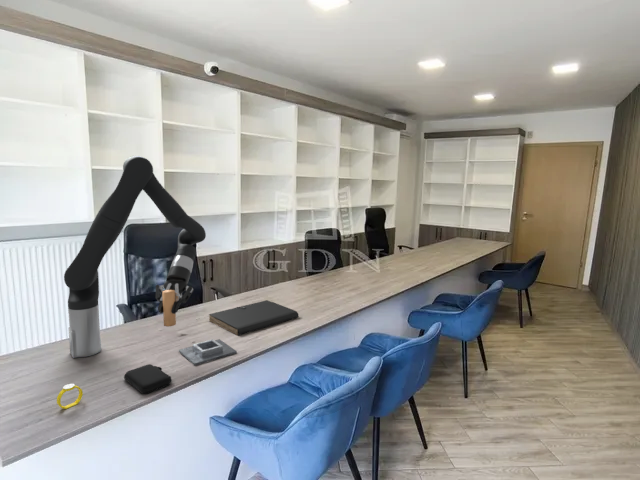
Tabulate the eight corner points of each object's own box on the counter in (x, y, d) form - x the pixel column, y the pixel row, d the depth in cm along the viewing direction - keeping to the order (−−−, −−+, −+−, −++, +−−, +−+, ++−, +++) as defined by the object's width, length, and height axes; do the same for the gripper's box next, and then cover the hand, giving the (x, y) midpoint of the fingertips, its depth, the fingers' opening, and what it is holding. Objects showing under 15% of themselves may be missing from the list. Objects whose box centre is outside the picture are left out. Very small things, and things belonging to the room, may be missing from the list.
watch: (61, 413, 102) (58, 393, 101) (56, 410, 103) (53, 390, 102) (85, 401, 107) (82, 382, 106) (80, 398, 108) (77, 379, 107)
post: (166, 327, 131) (164, 293, 130) (162, 324, 134) (160, 291, 133) (177, 324, 134) (176, 291, 132) (173, 321, 137) (172, 289, 135)
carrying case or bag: (177, 384, 118) (155, 368, 128) (177, 374, 118) (154, 360, 127) (143, 398, 110) (121, 380, 120) (142, 388, 110) (121, 371, 119)
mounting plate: (194, 365, 130) (194, 357, 129) (178, 351, 140) (178, 344, 140) (236, 353, 140) (236, 345, 140) (219, 341, 151) (219, 334, 150)
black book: (266, 299, 196) (298, 311, 179) (266, 307, 196) (298, 319, 180) (208, 313, 172) (238, 328, 156) (208, 322, 173) (238, 338, 156)
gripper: (158, 264, 139) (142, 306, 129) (196, 265, 138) (183, 308, 128) (165, 275, 145) (151, 316, 135) (202, 276, 144) (190, 318, 134)
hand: (166, 312), depth 131 cm, fingers closed on post, 4 cm apart
